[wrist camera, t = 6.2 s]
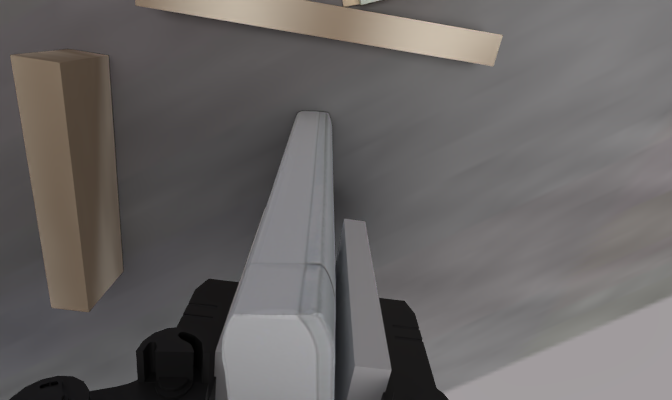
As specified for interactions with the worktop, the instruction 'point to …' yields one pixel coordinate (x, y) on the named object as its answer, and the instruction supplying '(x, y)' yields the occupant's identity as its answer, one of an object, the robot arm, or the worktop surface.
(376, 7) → the worktop surface
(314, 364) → the hard drive
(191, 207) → the worktop surface
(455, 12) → the worktop surface
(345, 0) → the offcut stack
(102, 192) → the birch rack
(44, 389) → the robot arm
